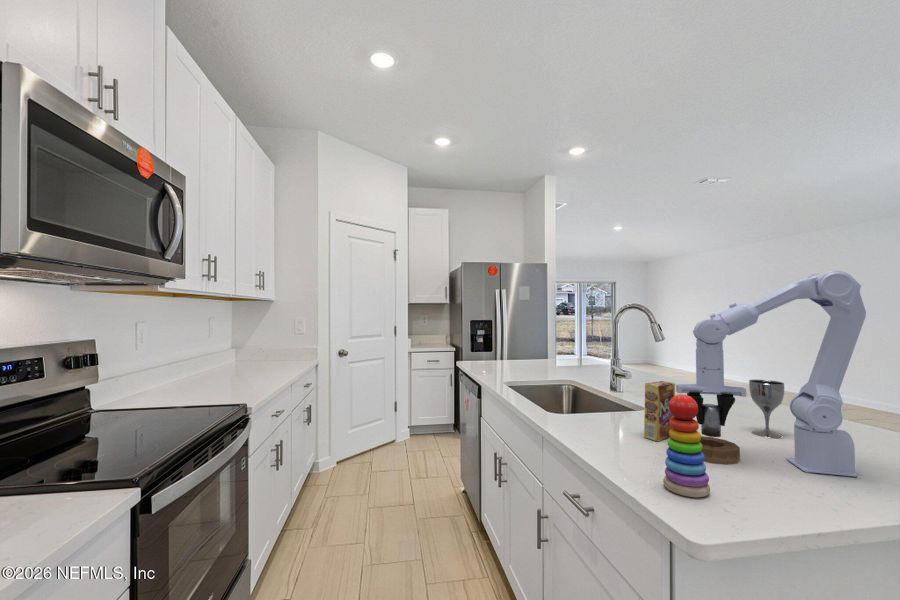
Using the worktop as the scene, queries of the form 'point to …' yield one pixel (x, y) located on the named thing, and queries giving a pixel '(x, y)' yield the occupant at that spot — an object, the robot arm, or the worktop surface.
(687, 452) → the stacking toy
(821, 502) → the worktop surface
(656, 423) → the candy box
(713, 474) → the worktop surface
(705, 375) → the robot arm
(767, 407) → the wine glass
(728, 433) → the worktop surface
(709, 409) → the steel peg
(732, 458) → the walnut bead
